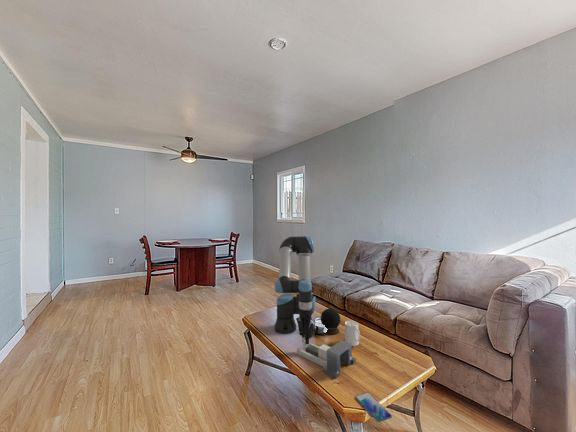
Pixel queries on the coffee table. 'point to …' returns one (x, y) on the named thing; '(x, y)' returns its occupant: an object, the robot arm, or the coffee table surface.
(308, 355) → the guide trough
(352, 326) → the mug
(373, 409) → the smartphone
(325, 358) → the plug
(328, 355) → the housing
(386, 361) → the coffee table surface
